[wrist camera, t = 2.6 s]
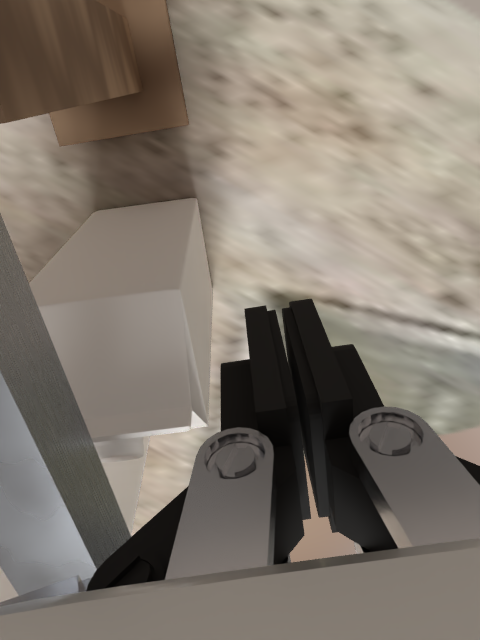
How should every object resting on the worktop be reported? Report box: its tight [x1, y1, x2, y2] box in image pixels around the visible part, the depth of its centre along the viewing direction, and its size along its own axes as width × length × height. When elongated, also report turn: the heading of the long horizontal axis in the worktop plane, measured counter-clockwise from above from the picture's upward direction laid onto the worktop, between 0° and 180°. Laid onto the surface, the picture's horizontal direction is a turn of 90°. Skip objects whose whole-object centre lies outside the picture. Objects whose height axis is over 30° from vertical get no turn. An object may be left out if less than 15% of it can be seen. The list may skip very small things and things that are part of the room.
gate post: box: [0, 0, 189, 146], centre depth 18 cm, size 8×8×20 cm
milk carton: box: [29, 198, 213, 462], centre depth 24 cm, size 7×7×19 cm
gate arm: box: [0, 214, 131, 596], centre depth 11 cm, size 21×4×3 cm, turn 9°
